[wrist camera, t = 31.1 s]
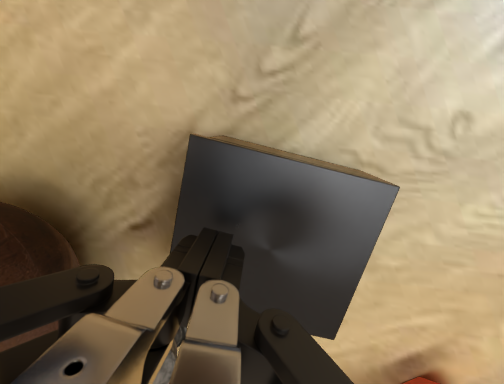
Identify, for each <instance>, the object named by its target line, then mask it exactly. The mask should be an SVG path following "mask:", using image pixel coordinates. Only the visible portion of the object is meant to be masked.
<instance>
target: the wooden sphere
mask: <svg viewBox="0 0 504 384" xmlns="http://www.w3.org/2000/svg"><path fill="white" fill-rule="evenodd" d="M76 267H80V265H79V262H78V259H77V257H76V255H75V253H74V251H73V249H72V247H71V246H70V244H69V243H68V242H67V240H66V239H65V238H64V237H63V236H62V235H61V234H60V233H59V232H58V231H57V230H56V229H55V228H54V227H52V226H51V225H50V224H48V223H47V222H46V221H44V220H43V219H41V218H39V217H37V216H36V215H34V214H32V213H30V212H28V211H25V210H23V209H20V208H18V207H15V206H12V205H9V204H6V203H2V202H0V287H1V286H5V285H8V284H12V283H16V282H20V281H24V280H28V279H32V278H36V277H40V276H44V275H48V274H52V273H56V272H60V271H64V270H68V269H72V268H76ZM57 329H58V321H55V322H53V323H50V324H47V325H45V326H42V327H39V328H37V329H34V330H31V331H29V332H26V333H23V334H21V335H18V336H16V337H13V338H10V339H8V340H5V341H2V342H0V352H2V351H5V350H7V349H10V348H12V347H15V346H17V345H20V344H22V343H25V342H27V341H30V340H32V339H35V338H37V337H40V336H42V335H45V334H47V333H50V332H52V331H55V330H57Z"/></svg>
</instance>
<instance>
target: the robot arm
mask: <svg viewBox="0 0 504 384" xmlns="http://www.w3.org/2000/svg"><path fill="white" fill-rule="evenodd" d="M233 236H234V234H230V233H226V232H221V231H219V233H218V231H217V230H213V229H209V228H205V227H203V229H202V230H201V232H200V234H199V235H198V236H195V235H191V234H190V235H188V236H186V237H184V238H182V239H181V240H180V242H179V243H178V244H177V246H176V247H175V248H174V250H173V251H172V252H171V253H170V255H169V256H168V257H167V259H166V260H165V261H164V263H163V264H162V265H161V267H156V268H153V269H150V270H148V271H147V272H145V273H144V274H143V275H142V276H141V277H140V278H139V279H138V280H114V272H113V271H112V270H111V269H110V268H109V267H106V266H103V265H95V264H94V265H84V266H80V267H76V268H72V269H68V270H64V271H60V272H56V273H52V274H48V275H44V276H40V277H36V278H32V279H28V280H24V281H20V282H16V283H12V284H8V285H5V286H1V287H0V342H2V341H5V340H8V339H10V338H13V337H16V336H18V335H21V334H23V333H26V332H29V331H31V330H34V329H37V328H39V327H42V326H45V325H47V324H50V323H53V322H55V321H58V329H57V330H55V331H52V332H50V333H47V334H45V335H42V336H40V337H37V338H35V339H32V340H30V341H27V342H25V343H22V344H20V345H17V346H15V347H12V348H10V349H7V350H5V351H2V352H0V384H152V383H153V381H154V380H155V378H156V376H157V374H158V372H159V370H160V368H161V366H162V364H163V362H164V360H165V358H166V357H167V355H168V353H169V351H170V349H171V347H172V344H173V339H174V337H175V335H176V333H177V331H178V329H179V326H182V327H186V328H187V326H188V328H187V332H186V335H185V338H183V340H182V343H181V346H180V349H179V352H178V356H177V359H176V362H175V365H174V369H173V372H172V375H171V379H170V382H169V384H354V383H353V382H352V381H351V380H350V379H349V378H348V376H347V375H346V374H345V373H344V372H343V371H342V370H341V369H340V368H339V366H338V365H337V364H336V363H335V362H334V361H333V360H332V359H331V358H330V356H329V355H328V354H327V353H326V352H325V351H324V350H323V349H322V348H321V347H320V345H319V344H318V343H317V342H316V341H315V340H314V339H313V338H312V337H311V335H310V334H309V333H308V332H307V331H306V330H305V329H304V328H303V327H302V325H301V324H300V323H299V322H298V321H297V320H296V319H295V318H294V317H293V316H292V315H291V314H289V313H287V312H286V311H283V310H281V309H276V308H271V309H266V310H264V311H263V312H262V313H261V314H260V313H258V312H256V311H254V310H252V309H251V308H249V307H248V306H247V305H246V304H245V303H244V302H243V301H242V299H241V297H240V294H239V289H240V283H241V276H242V270H243V264H244V258H245V252H244V250H243V248H242V247H240V246H236V245H232V240H233ZM189 321H190V322H189ZM188 323H189V325H188Z"/></svg>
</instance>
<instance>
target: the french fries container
mask: <svg viewBox="0 0 504 384" xmlns="http://www.w3.org/2000/svg"><path fill="white" fill-rule="evenodd" d="M402 384H439V383H436V382H434V381H431V380H428V379H425V378H422V377H417V378H414V379H412V380H409V381H407V382H405V383H402Z"/></svg>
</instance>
